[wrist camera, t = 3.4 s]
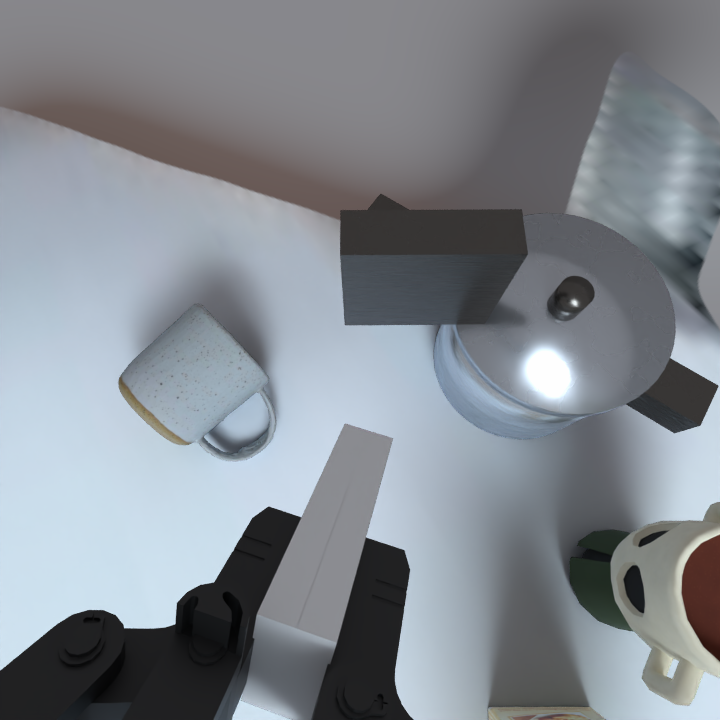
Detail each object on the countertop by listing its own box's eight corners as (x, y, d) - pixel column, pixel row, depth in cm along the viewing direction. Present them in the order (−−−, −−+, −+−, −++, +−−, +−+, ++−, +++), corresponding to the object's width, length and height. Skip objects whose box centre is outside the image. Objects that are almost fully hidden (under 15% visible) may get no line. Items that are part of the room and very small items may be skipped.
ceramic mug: (138, 394, 38) (88, 365, 31) (217, 326, 40) (187, 283, 33) (226, 490, 36) (194, 482, 29) (305, 413, 38) (294, 388, 31)
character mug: (595, 481, 36) (716, 458, 24) (686, 537, 35) (862, 542, 23) (530, 617, 33) (630, 670, 21) (626, 683, 32) (793, 779, 20)
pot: (320, 334, 40) (311, 282, 32) (400, 222, 44) (410, 148, 35) (602, 501, 36) (678, 493, 27) (664, 360, 40) (748, 315, 31)
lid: (641, 221, 33) (740, 115, 25) (687, 416, 29) (827, 370, 20) (345, 223, 33) (341, 117, 24) (345, 419, 28) (339, 373, 20)
